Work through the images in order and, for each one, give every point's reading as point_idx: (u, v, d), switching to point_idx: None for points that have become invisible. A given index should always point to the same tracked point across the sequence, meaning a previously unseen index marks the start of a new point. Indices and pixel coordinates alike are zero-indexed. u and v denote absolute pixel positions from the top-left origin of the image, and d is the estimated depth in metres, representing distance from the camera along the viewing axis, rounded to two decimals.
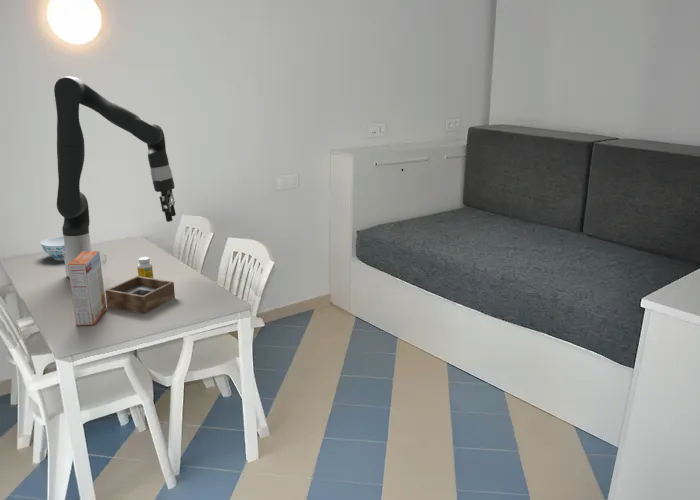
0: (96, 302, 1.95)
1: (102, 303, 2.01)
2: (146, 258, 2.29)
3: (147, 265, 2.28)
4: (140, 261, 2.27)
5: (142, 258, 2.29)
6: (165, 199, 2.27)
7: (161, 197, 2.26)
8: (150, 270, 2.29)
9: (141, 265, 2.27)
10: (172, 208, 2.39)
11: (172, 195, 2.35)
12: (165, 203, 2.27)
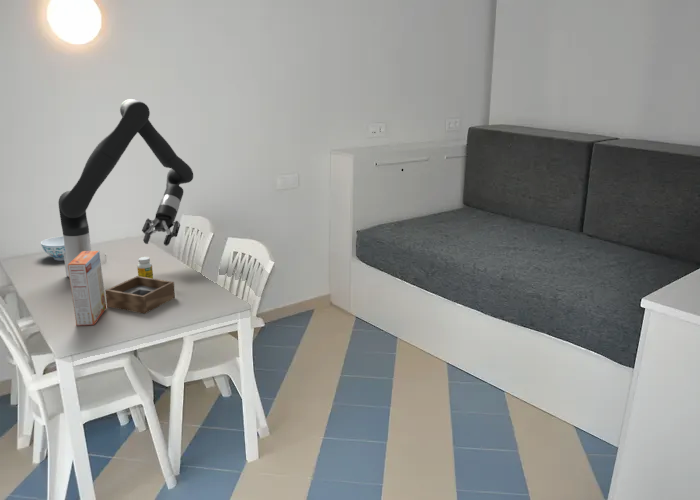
0: (96, 302, 1.95)
1: (102, 303, 2.01)
2: (146, 258, 2.29)
3: (147, 265, 2.28)
4: (140, 261, 2.27)
5: (142, 258, 2.29)
6: (179, 226, 2.39)
7: (178, 222, 2.39)
8: (150, 270, 2.29)
9: (141, 265, 2.27)
10: (149, 236, 2.39)
11: None
12: (178, 229, 2.38)
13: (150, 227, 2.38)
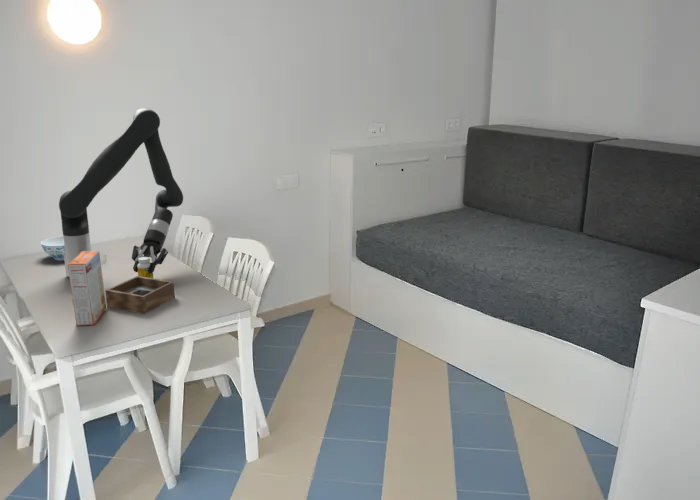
0: (96, 302, 1.95)
1: (102, 303, 2.01)
2: (146, 258, 2.29)
3: (147, 265, 2.28)
4: (140, 261, 2.27)
5: (142, 258, 2.29)
6: (166, 254, 2.32)
7: (166, 250, 2.31)
8: None
9: (141, 265, 2.27)
10: None
11: None
12: (164, 256, 2.31)
13: (139, 254, 2.31)
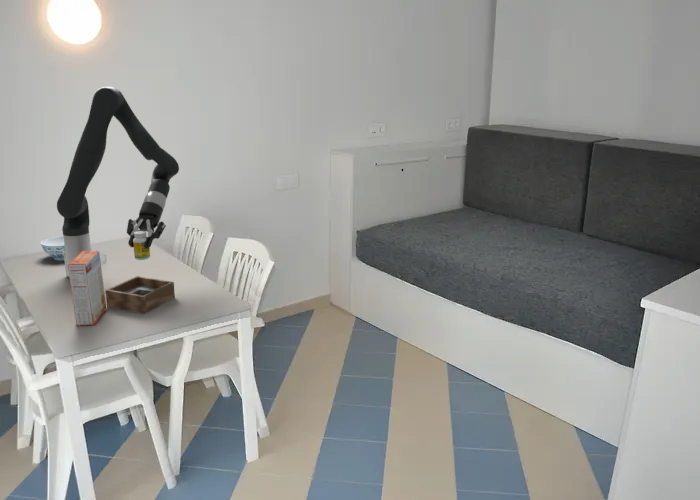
0: (96, 302, 1.95)
1: (102, 303, 2.01)
2: (142, 232, 2.14)
3: (143, 239, 2.13)
4: (136, 235, 2.13)
5: (138, 232, 2.14)
6: (163, 227, 2.17)
7: (163, 223, 2.16)
8: None
9: (137, 239, 2.13)
10: None
11: None
12: (161, 230, 2.16)
13: (135, 228, 2.16)
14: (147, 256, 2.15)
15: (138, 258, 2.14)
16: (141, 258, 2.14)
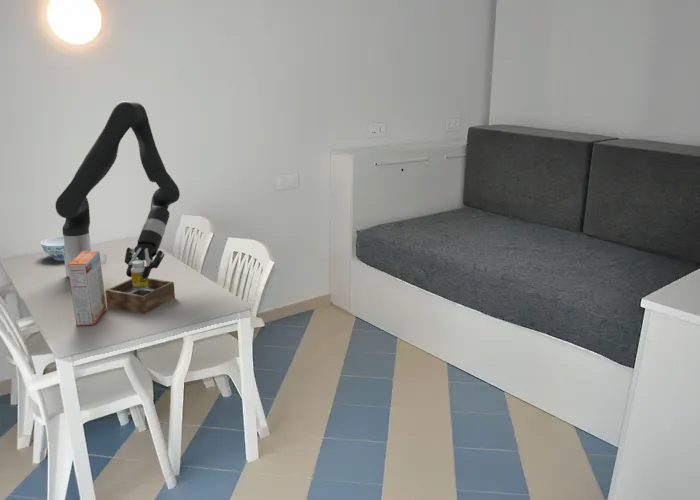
0: (96, 302, 1.95)
1: (102, 303, 2.01)
2: (140, 261, 2.08)
3: (141, 269, 2.07)
4: (134, 265, 2.07)
5: (136, 261, 2.08)
6: (162, 256, 2.11)
7: (162, 252, 2.10)
8: None
9: (135, 269, 2.07)
10: None
11: None
12: (160, 260, 2.10)
13: (133, 257, 2.10)
14: (145, 286, 2.09)
15: (136, 288, 2.08)
16: (139, 288, 2.08)
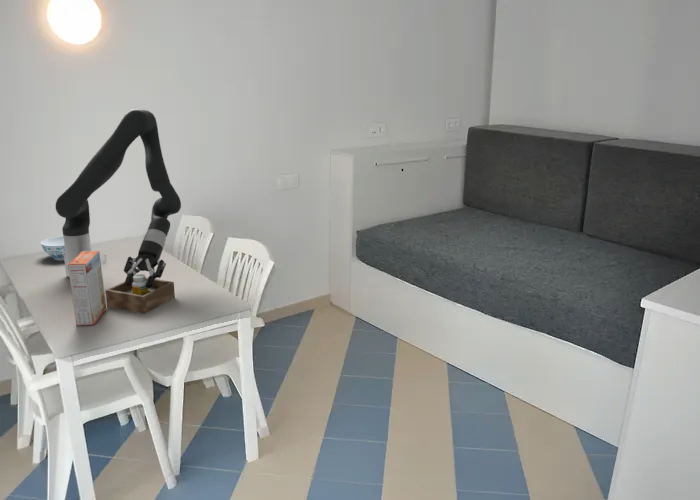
0: (96, 302, 1.95)
1: (102, 303, 2.01)
2: (141, 276, 2.10)
3: (142, 283, 2.09)
4: (135, 279, 2.08)
5: (137, 276, 2.10)
6: (164, 265, 2.12)
7: (163, 261, 2.12)
8: (146, 289, 2.10)
9: (136, 283, 2.08)
10: (132, 277, 2.12)
11: None
12: (162, 269, 2.11)
13: (132, 267, 2.11)
14: None
15: None
16: None
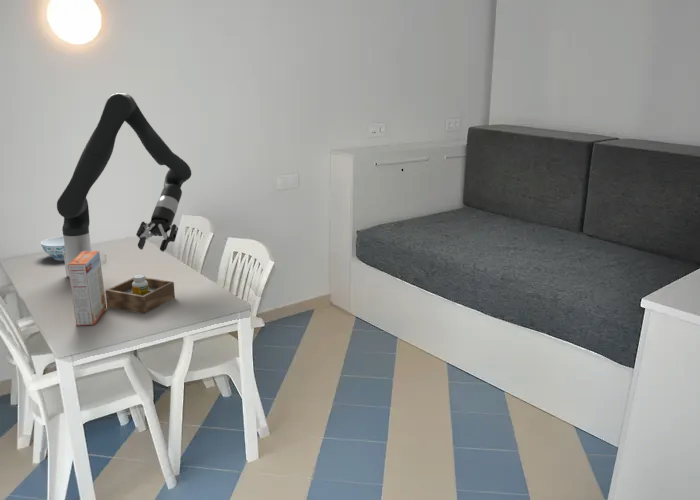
0: (96, 302, 1.95)
1: (102, 303, 2.01)
2: (141, 276, 2.10)
3: (142, 283, 2.09)
4: (135, 279, 2.08)
5: (137, 276, 2.10)
6: (177, 230, 2.19)
7: (176, 226, 2.18)
8: (146, 289, 2.10)
9: (136, 283, 2.08)
10: (144, 241, 2.18)
11: None
12: (175, 233, 2.18)
13: (145, 231, 2.18)
14: None
15: None
16: None
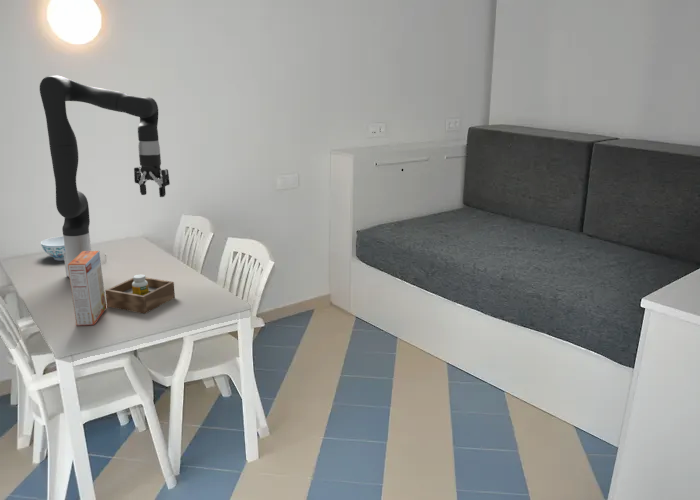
0: (96, 302, 1.95)
1: (102, 303, 2.01)
2: (141, 276, 2.10)
3: (142, 283, 2.09)
4: (135, 279, 2.08)
5: (137, 276, 2.10)
6: (167, 173, 2.25)
7: (164, 171, 2.24)
8: (146, 289, 2.10)
9: (136, 283, 2.08)
10: (144, 186, 2.30)
11: None
12: (167, 177, 2.25)
13: (141, 179, 2.27)
14: None
15: None
16: None
